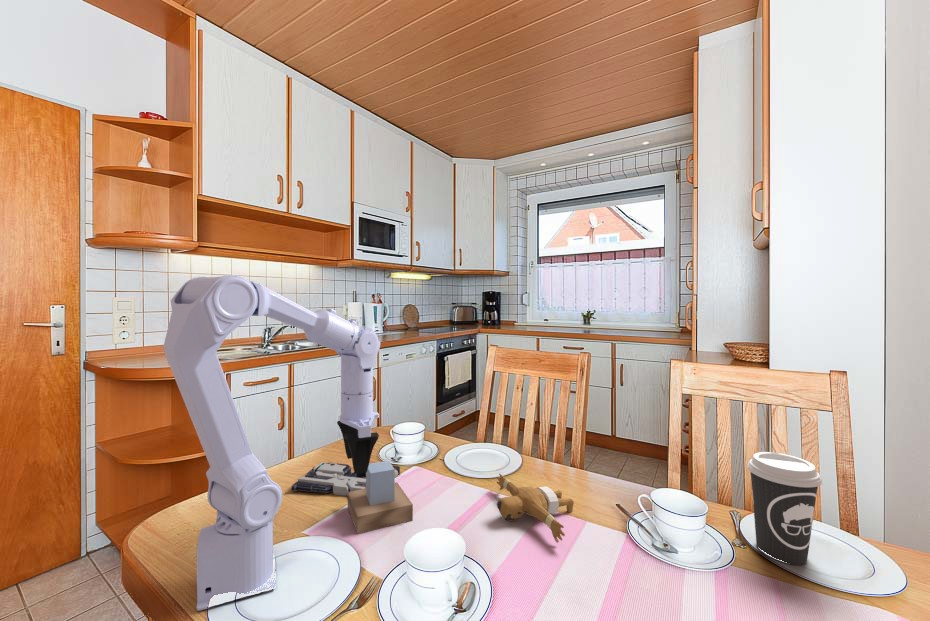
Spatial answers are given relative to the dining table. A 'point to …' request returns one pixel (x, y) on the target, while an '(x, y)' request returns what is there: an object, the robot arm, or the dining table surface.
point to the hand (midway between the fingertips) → (356, 464)
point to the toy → (533, 504)
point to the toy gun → (333, 479)
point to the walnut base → (379, 510)
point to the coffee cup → (783, 504)
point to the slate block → (380, 483)
